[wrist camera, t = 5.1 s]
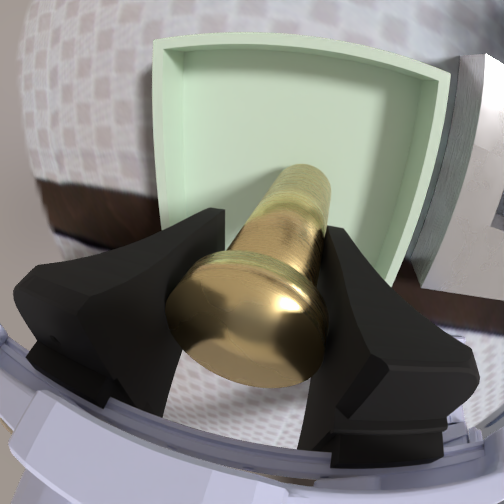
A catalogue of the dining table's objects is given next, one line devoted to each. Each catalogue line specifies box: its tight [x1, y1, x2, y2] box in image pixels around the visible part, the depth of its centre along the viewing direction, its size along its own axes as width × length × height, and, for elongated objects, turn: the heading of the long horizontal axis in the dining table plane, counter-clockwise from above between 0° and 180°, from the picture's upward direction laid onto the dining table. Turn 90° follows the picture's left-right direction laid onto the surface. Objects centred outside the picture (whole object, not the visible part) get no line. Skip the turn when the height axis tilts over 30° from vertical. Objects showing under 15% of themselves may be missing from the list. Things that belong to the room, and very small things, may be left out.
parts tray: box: [152, 32, 451, 287], centre depth 15 cm, size 16×14×3 cm
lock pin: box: [165, 164, 331, 388], centre depth 10 cm, size 4×4×10 cm
